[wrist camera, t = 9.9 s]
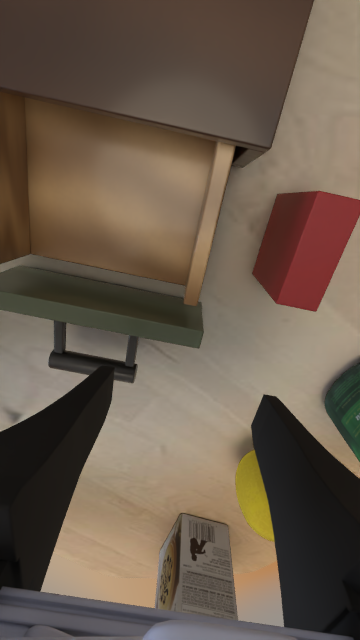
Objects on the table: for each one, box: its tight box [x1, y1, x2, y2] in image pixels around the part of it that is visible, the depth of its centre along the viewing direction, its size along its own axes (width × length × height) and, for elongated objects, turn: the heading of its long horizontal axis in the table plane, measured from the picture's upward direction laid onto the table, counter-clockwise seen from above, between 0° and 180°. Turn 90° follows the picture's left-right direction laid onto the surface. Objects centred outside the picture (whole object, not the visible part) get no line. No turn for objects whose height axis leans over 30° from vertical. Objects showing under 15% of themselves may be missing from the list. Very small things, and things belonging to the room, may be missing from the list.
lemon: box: [235, 450, 275, 542], centre depth 23 cm, size 6×6×8 cm
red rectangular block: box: [252, 191, 360, 312], centre depth 15 cm, size 5×2×6 cm, turn 169°
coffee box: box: [155, 514, 238, 620], centre depth 26 cm, size 9×6×16 cm
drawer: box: [0, 92, 236, 383], centre depth 16 cm, size 18×13×5 cm
